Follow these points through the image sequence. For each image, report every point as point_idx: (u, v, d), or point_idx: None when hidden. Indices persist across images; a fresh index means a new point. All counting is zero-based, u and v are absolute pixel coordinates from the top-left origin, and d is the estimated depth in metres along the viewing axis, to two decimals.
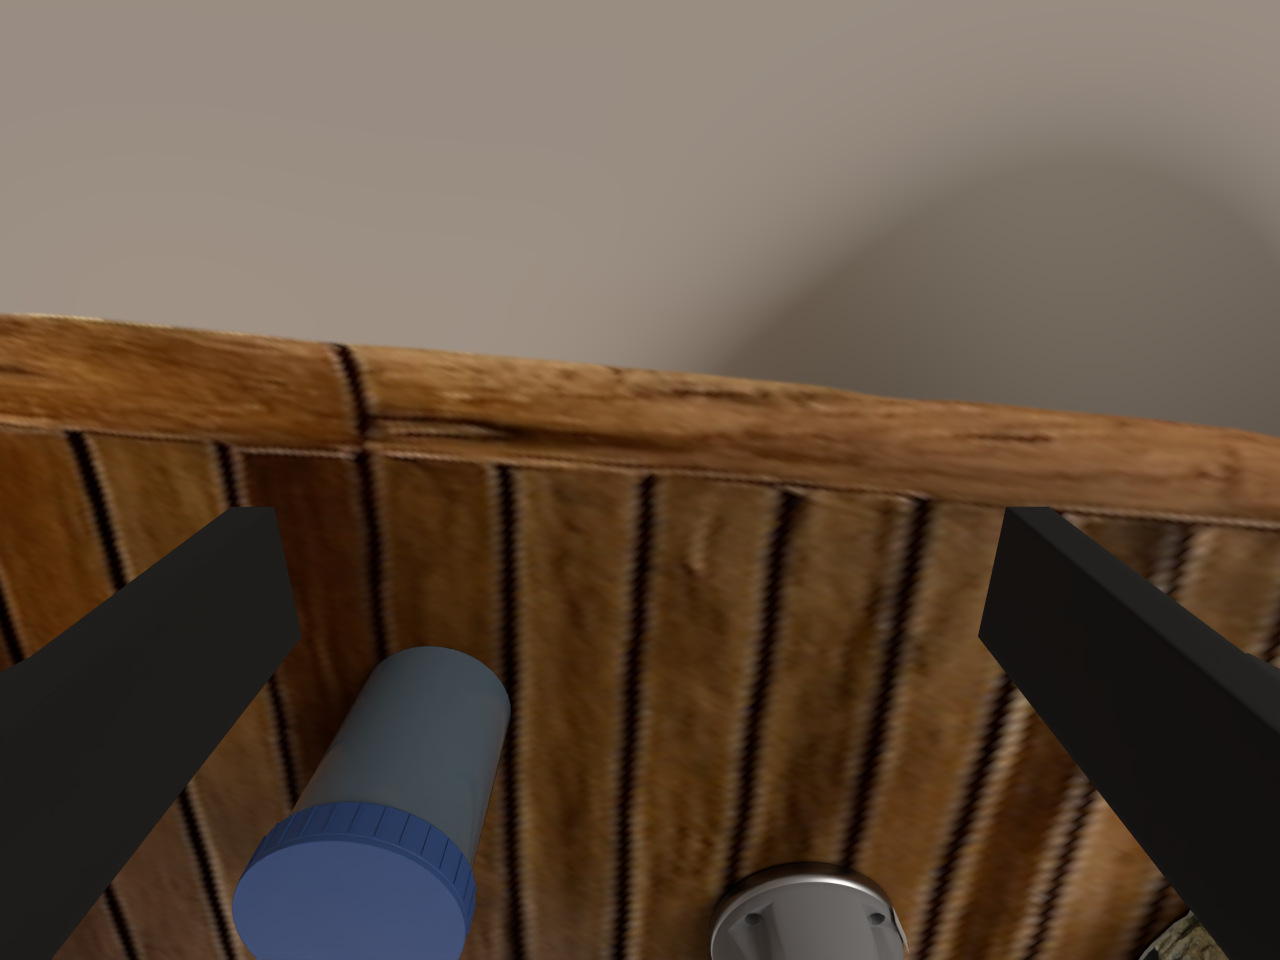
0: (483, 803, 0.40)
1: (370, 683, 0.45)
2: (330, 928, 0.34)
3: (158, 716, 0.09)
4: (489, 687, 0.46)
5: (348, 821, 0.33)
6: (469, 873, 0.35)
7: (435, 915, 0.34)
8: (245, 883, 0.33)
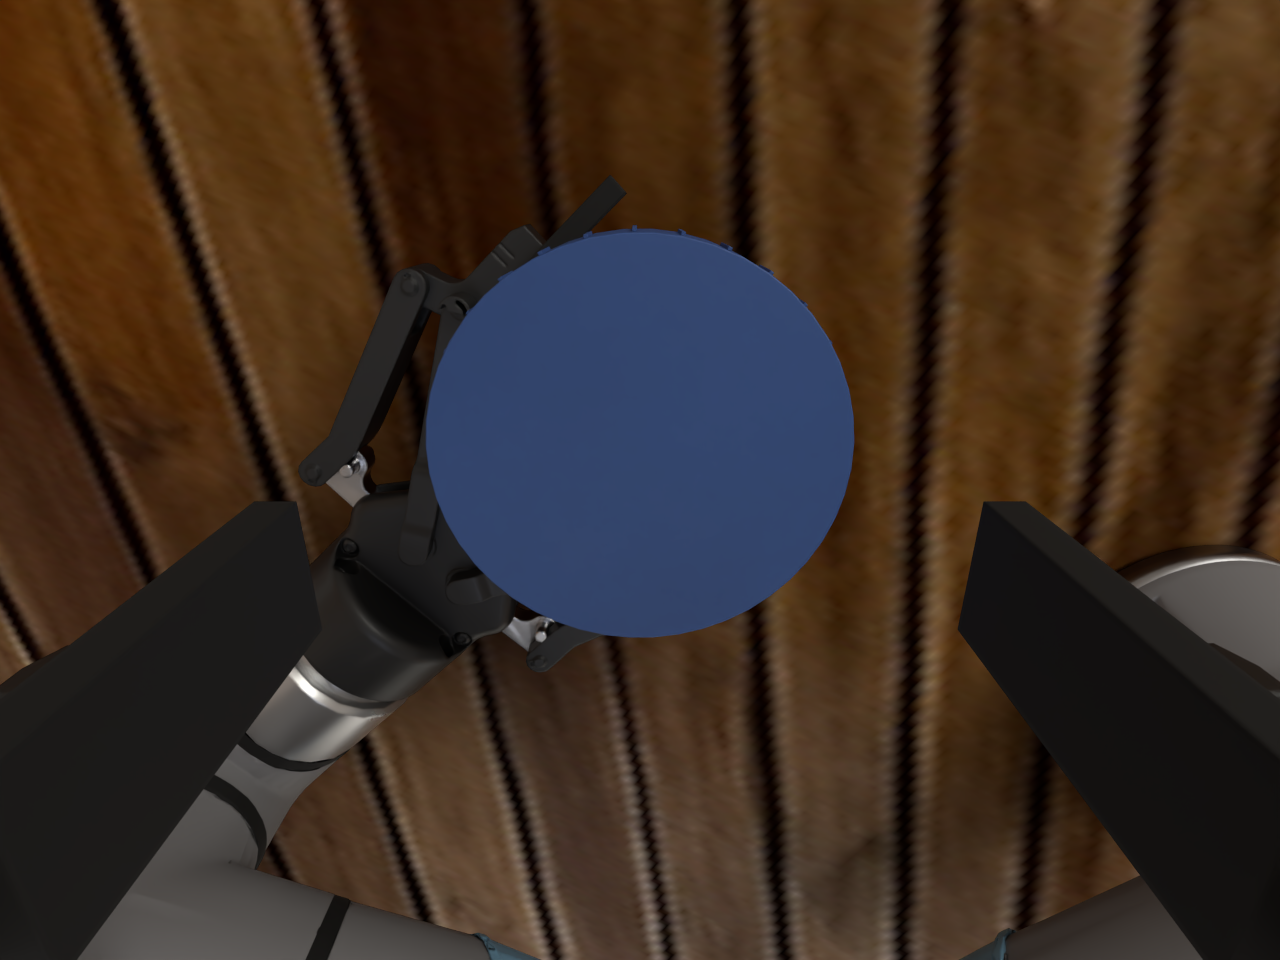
0: None
1: None
2: (604, 470, 0.18)
3: (191, 704, 0.09)
4: None
5: (621, 230, 0.17)
6: None
7: (801, 409, 0.18)
8: (446, 377, 0.18)
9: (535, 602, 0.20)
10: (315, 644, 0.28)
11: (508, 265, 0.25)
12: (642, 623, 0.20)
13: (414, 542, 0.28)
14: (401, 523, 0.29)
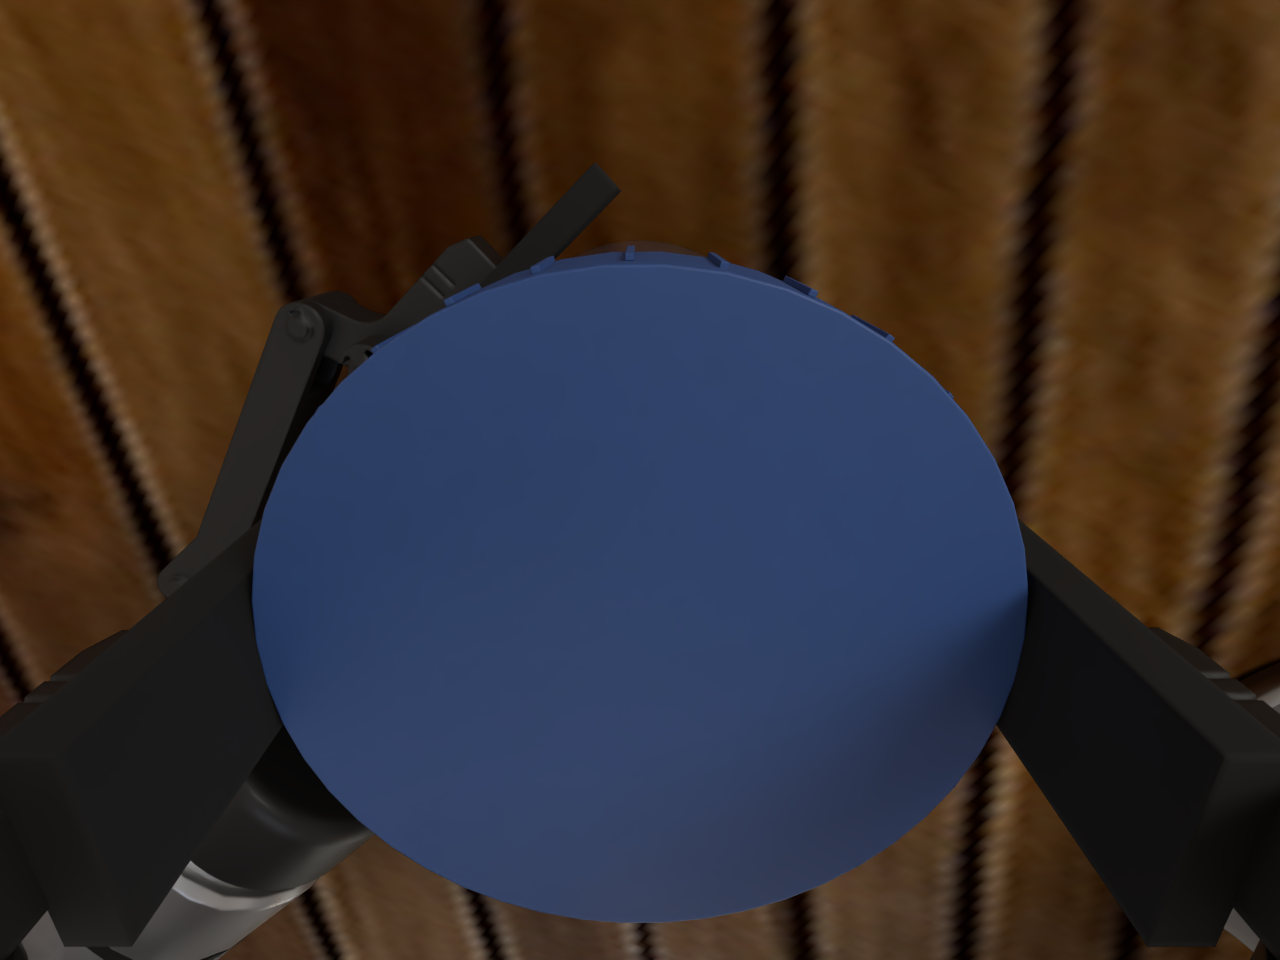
0: None
1: None
2: (577, 681, 0.10)
3: (242, 685, 0.10)
4: None
5: (606, 258, 0.09)
6: None
7: (933, 581, 0.10)
8: (282, 528, 0.09)
9: (464, 875, 0.12)
10: None
11: (446, 296, 0.17)
12: (644, 904, 0.12)
13: None
14: None
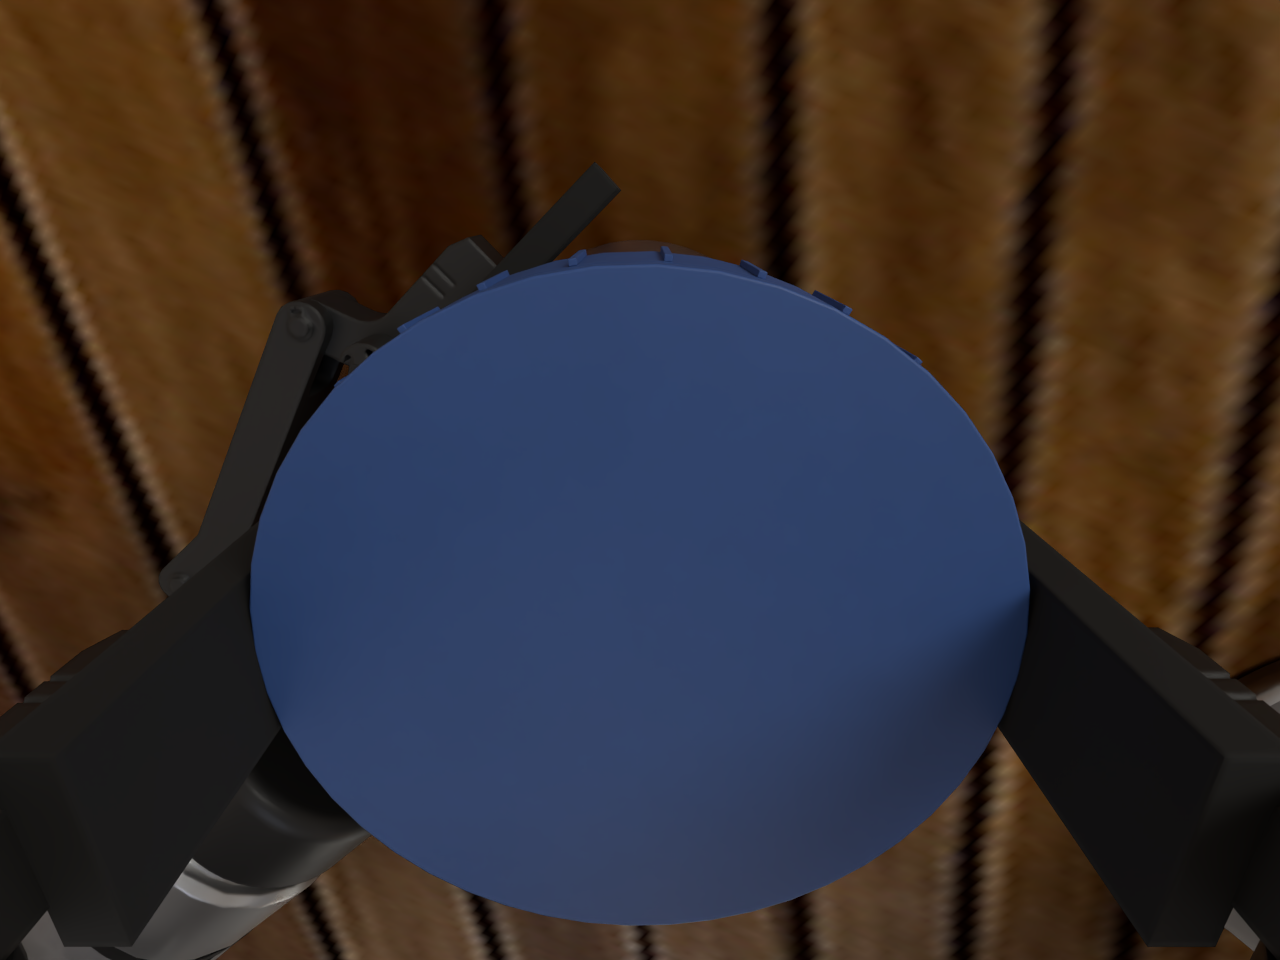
0: None
1: None
2: (662, 714, 0.11)
3: (242, 686, 0.10)
4: None
5: None
6: None
7: (525, 391, 0.09)
8: (519, 896, 0.12)
9: (914, 812, 0.11)
10: None
11: (447, 295, 0.17)
12: (990, 654, 0.10)
13: None
14: None
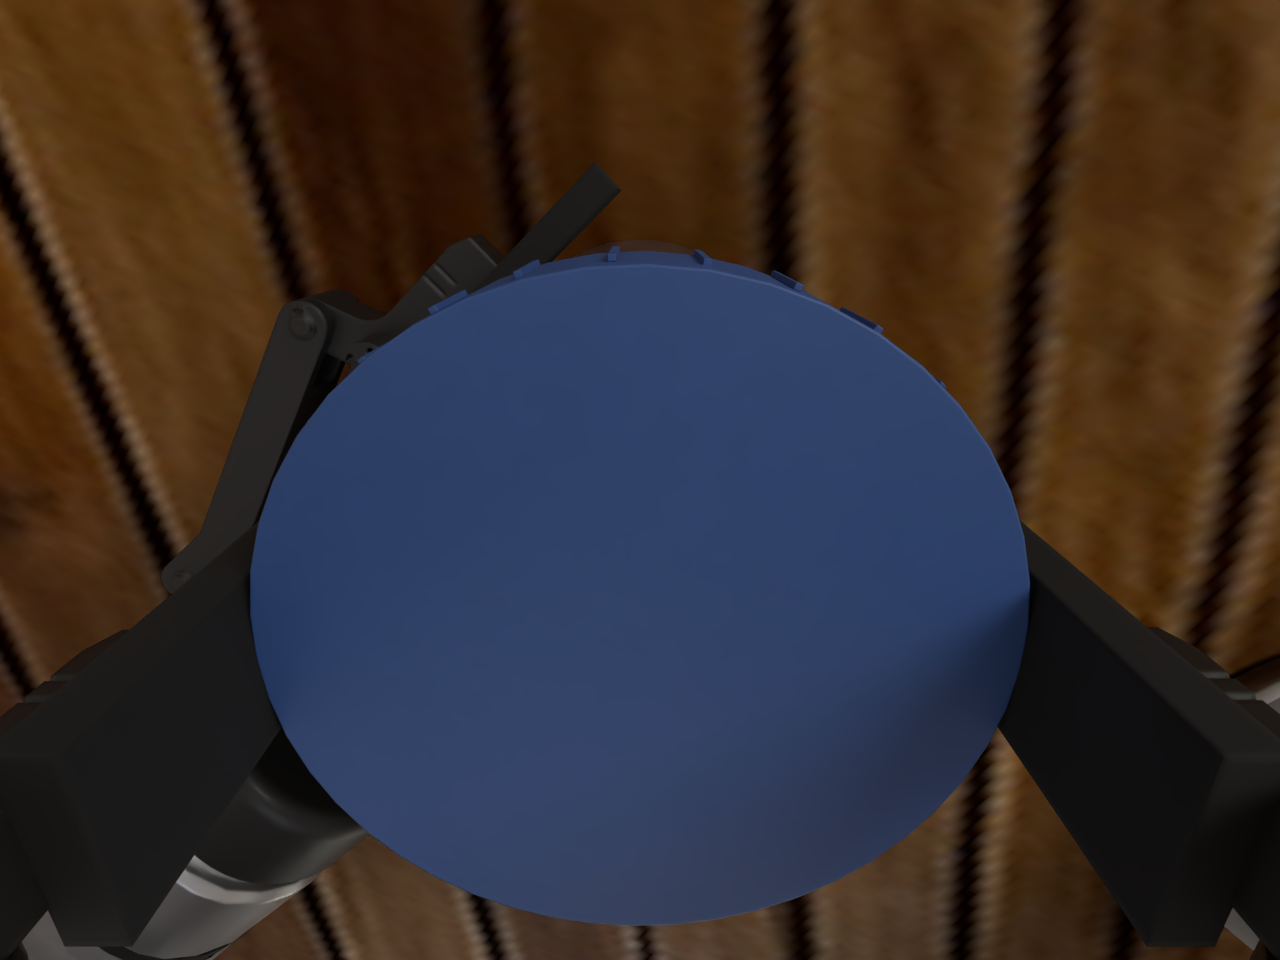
0: None
1: None
2: (703, 643, 0.10)
3: (242, 686, 0.10)
4: None
5: None
6: None
7: (376, 744, 0.11)
8: (952, 767, 0.11)
9: (871, 357, 0.09)
10: None
11: (448, 295, 0.17)
12: (616, 308, 0.08)
13: None
14: None
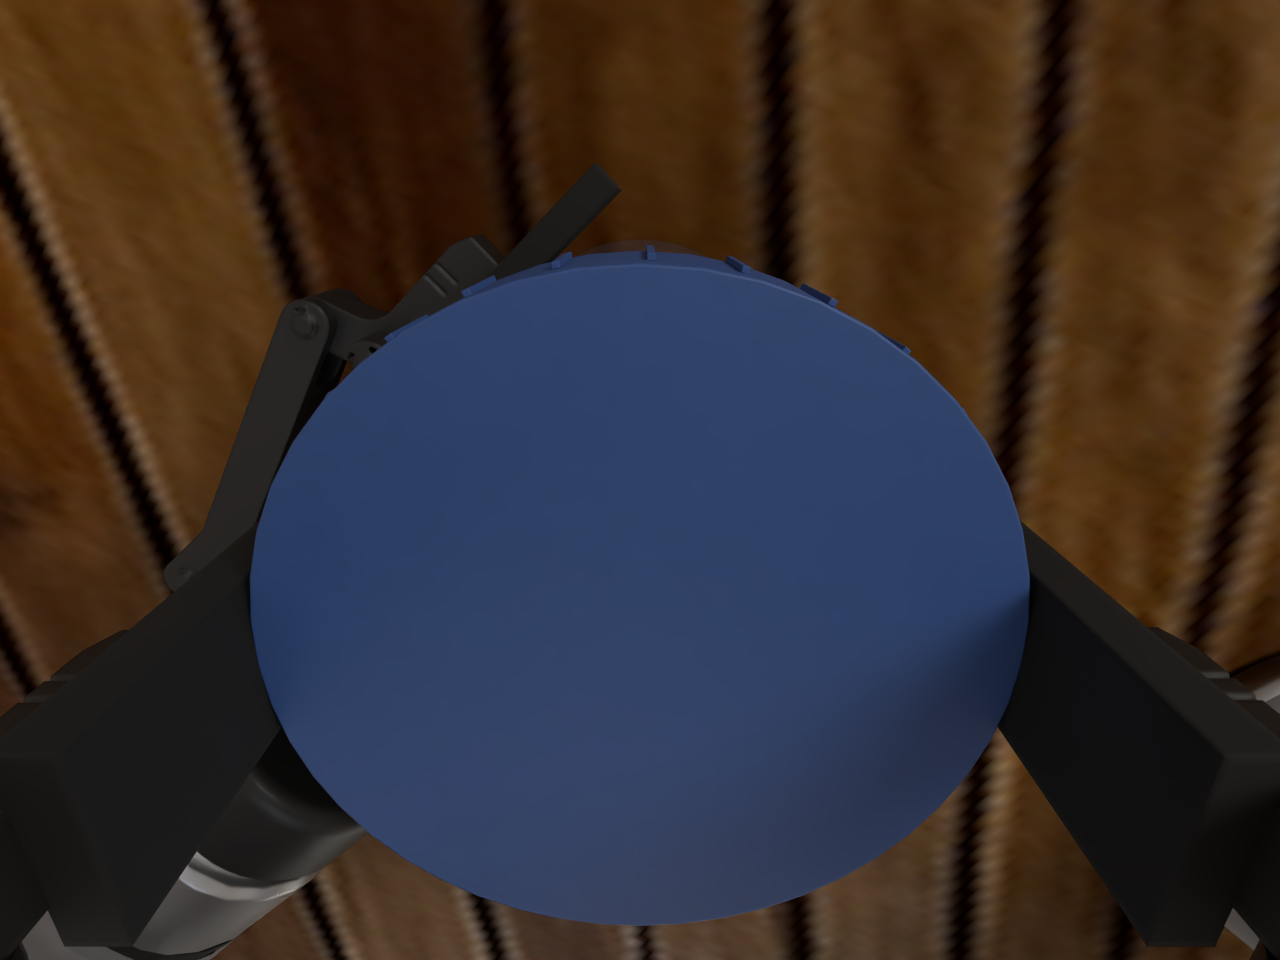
0: None
1: None
2: (612, 611, 0.10)
3: (242, 686, 0.10)
4: None
5: None
6: None
7: (733, 862, 0.12)
8: (797, 319, 0.08)
9: (293, 491, 0.09)
10: None
11: (449, 294, 0.17)
12: (296, 684, 0.10)
13: None
14: None
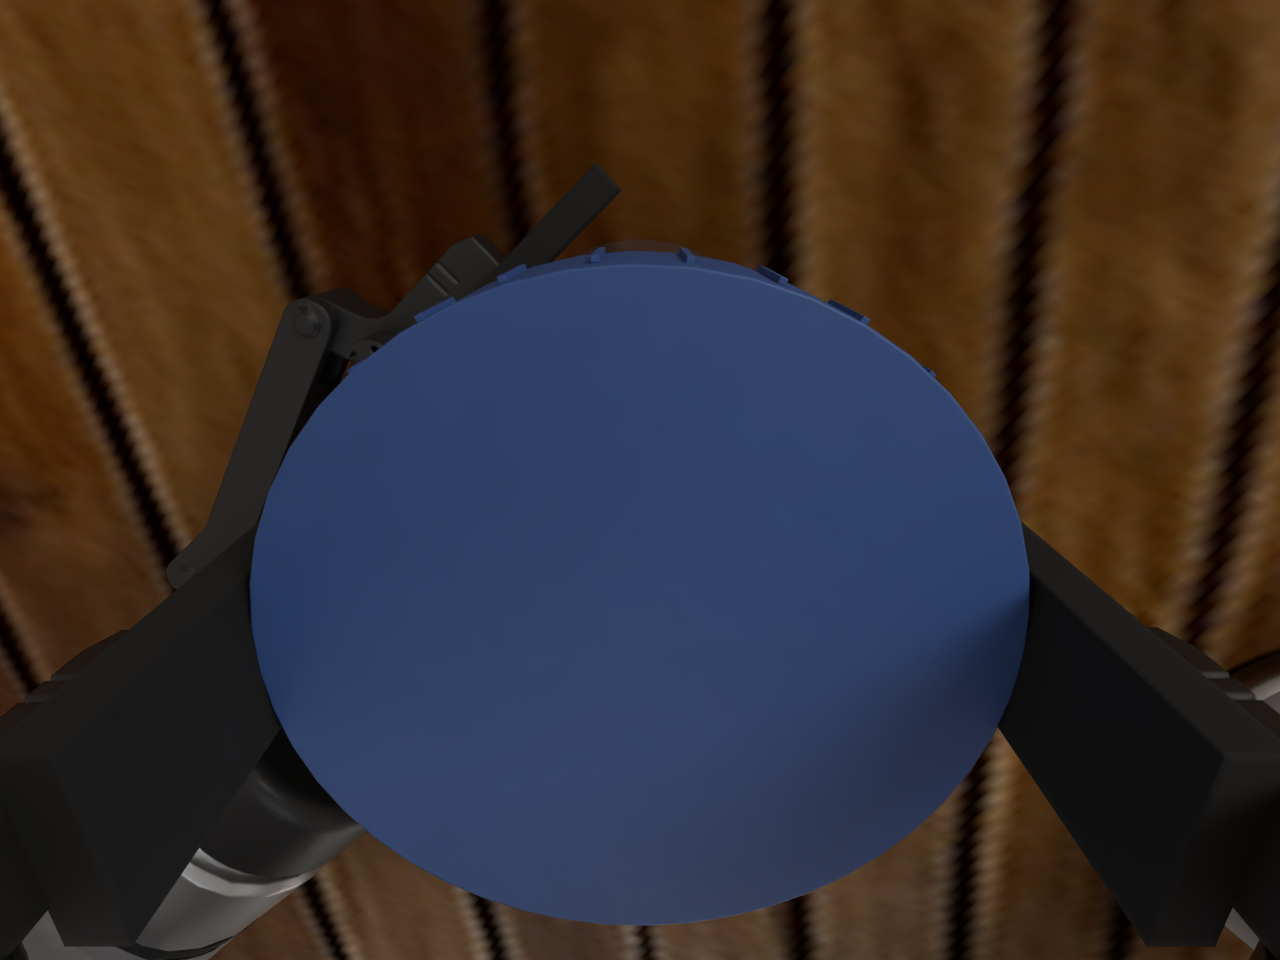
0: None
1: None
2: (579, 686, 0.10)
3: (242, 686, 0.10)
4: None
5: (573, 262, 0.09)
6: None
7: (931, 564, 0.10)
8: (274, 554, 0.10)
9: (485, 886, 0.12)
10: None
11: (450, 293, 0.17)
12: (666, 905, 0.12)
13: None
14: None
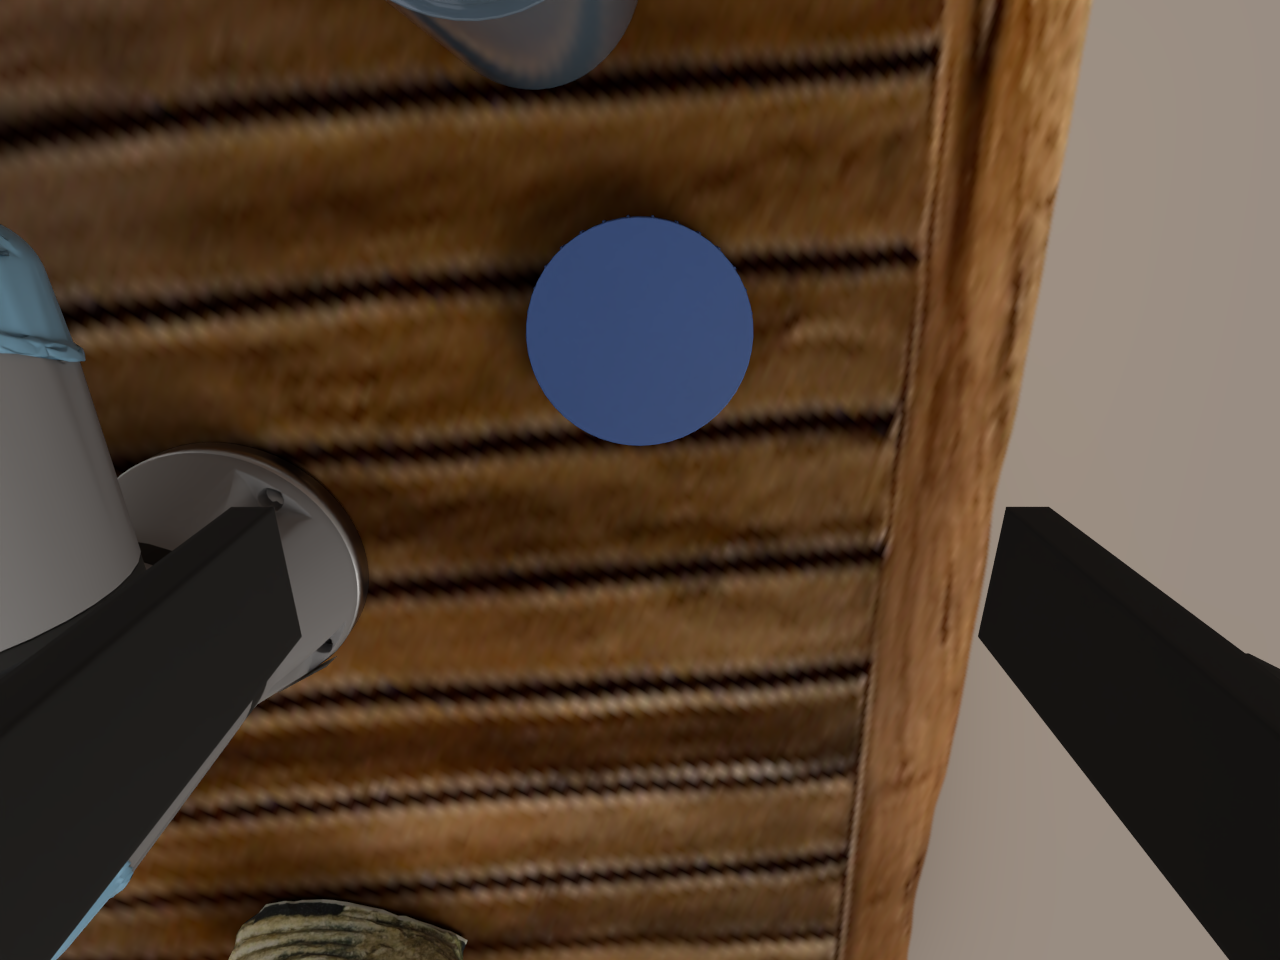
0: (527, 48, 0.24)
1: None
2: (621, 346, 0.35)
3: (158, 715, 0.09)
4: (605, 49, 0.30)
5: None
6: None
7: (722, 304, 0.34)
8: (536, 301, 0.34)
9: (588, 427, 0.36)
10: None
11: None
12: (648, 436, 0.36)
13: None
14: None
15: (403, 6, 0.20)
